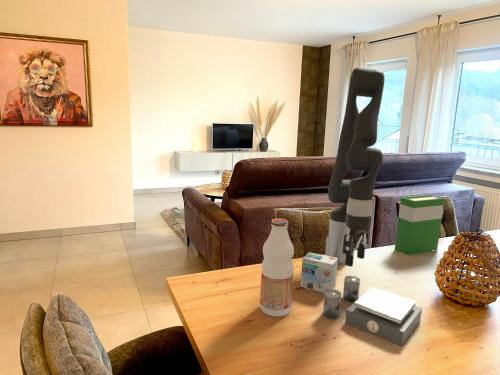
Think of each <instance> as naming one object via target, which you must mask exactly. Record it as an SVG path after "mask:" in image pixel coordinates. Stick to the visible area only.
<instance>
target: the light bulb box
mask: <svg viewBox="0 0 500 375" xmlns="http://www.w3.org/2000/svg"><path fill="white" fill-rule="evenodd" d="M301 261H302V262H301V277H300V287H301V288H305V289H308V290H312V291H316V292H319V293H322V294H324V292H325V290H328V289H334V290H335V288H336V284H337V283H336V282H337V271H338V264H337V261H338V258H335V257H330V256H325V254H322V253H321V254H320V253H314V252H311V251H308V252H307V253H306V254H305V255H304V256H303V257H302V259H301Z"/></svg>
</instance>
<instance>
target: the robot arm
mask: <svg viewBox="0 0 500 375" xmlns="http://www.w3.org/2000/svg"><path fill="white" fill-rule="evenodd" d="M384 86H385V74H384V72H383V71H382V70H380V69H377V68H376V69H375V68H365V67H354V68H353V70H352V72H351V74H350V78H349V83H348V89H347V90H348V91H347V98H346V104H345V110H344V111H345V112H344V117H343V121H342V125H341V130H340V135H339V138H338V145H337V152H336V157H335V162H334V165H333V166H334V167H333V170H332V173H331V176H330V180H329V184H328V188H327V196H328V200H329V202H331V203H333V204H342V205H341V206H340V207H338V208H335V209H333V210H332V211H331V212H330V218H329V229H328V235H327V236H326V241H325V253H324V255H325V256H330V257H335V258H338V261H337V265H345V266H347V267H350V268H351V267H353V265H354V259H355V258H354V257H355V255H354V254H355V251H356V250H357V251H356V258H357V259H361V260H363V259H365V253H366V248H367V245H369V243H370V232H371V227H372V218H373V208H374V207H373V197H374V188H375V183H376V180H377V176H378V174H379V172H380V169H381V166H382V164H383V159H384V154H383V152H382V150H381V149H380V148H377V147H372V146H374V145H375V144H376V143H377V140H378V122H379V121H378V120H379V114H380V111H381V104H382V100H383V95H384V94H383V93H384V88H385V87H384ZM357 97H361V98H362V97H364V98H371V100H370V101H369V103H367V105H366V106H365V107H364V108H363V109H361V111H360V112H359V108H358V105H357ZM348 170H351V171H356V172H359V171H360V172H361V171H362V172H368V173H367V174H366V175H364V176H362V177H356V178H355V177H354V178H352V179H344V177H345V175H346V173H347V172H348Z"/></svg>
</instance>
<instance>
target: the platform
mask: <svg viewBox="0 0 500 375" xmlns="http://www.w3.org/2000/svg"><path fill="white" fill-rule="evenodd" d="M353 304H354V306H355V307H357V308H360V309H363V310H365V311H368V312H370V313H373V314H376V315H378V316H381V317H384V318H386V319H389V320H392V321H394V322H397V323H400V324H401V322H402V321H403V320H404V319H405V317H406V316H407V315H408V314H409V313H410V311H411V310H412V309H413V308H414V307H415V306H416V305H417V301H416V300H412V299H410V298H407V297H403V296H400V295H398V294H395V293H391V292H389V291H386V290H382V289H380V288H376V287H373V286H372V287H371V288H369V289H368V290H367V291H366V292H365V293H363V294H362V295H361V296H359V297H358V300H357V301H355V302H354V303H353Z"/></svg>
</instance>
